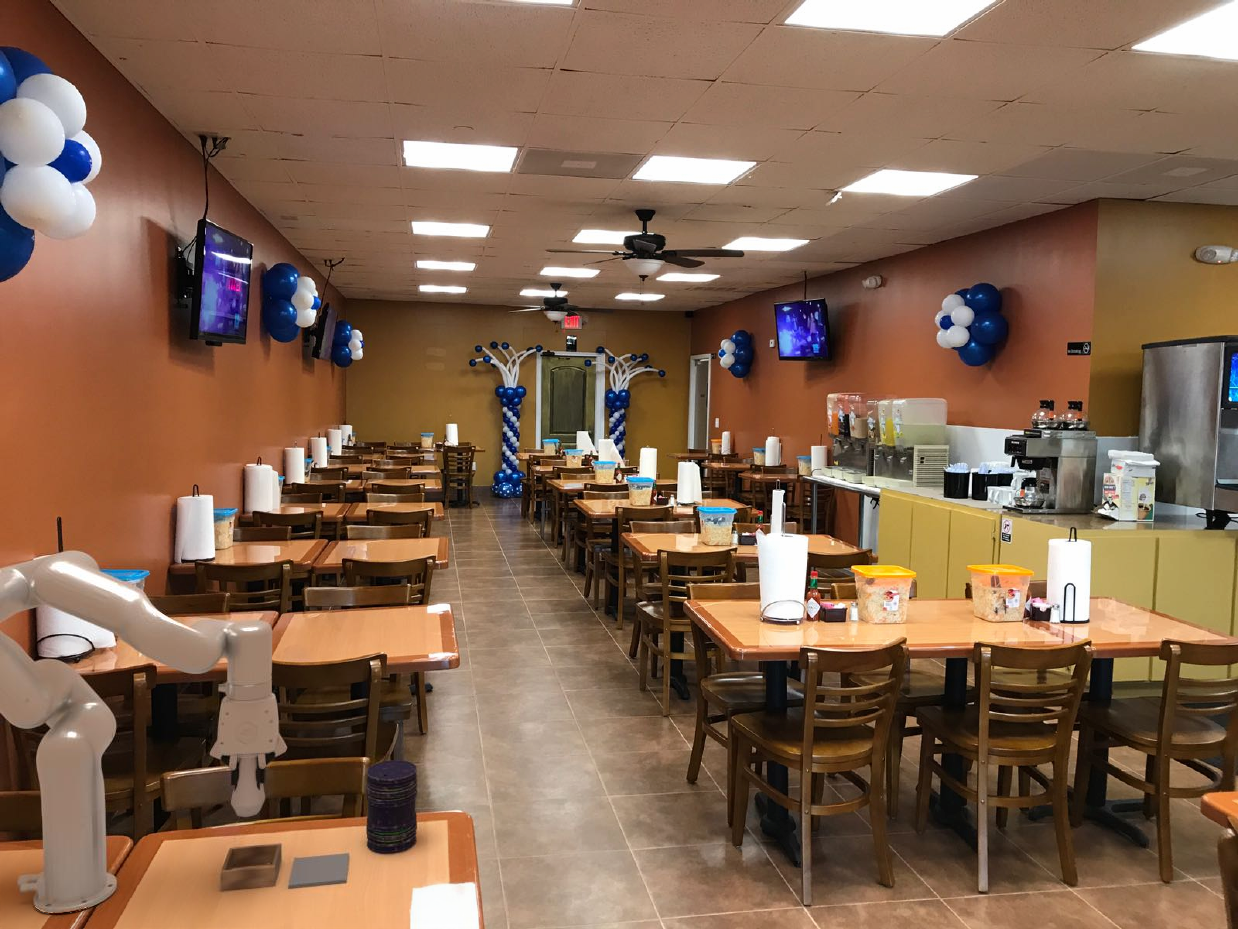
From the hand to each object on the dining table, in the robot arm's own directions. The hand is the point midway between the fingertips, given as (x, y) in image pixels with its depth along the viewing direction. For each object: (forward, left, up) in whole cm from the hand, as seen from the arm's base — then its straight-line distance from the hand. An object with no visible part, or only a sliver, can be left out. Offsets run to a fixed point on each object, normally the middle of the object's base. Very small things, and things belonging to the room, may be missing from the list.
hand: (248, 787), depth 168 cm
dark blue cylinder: (+25, +8, -17) cm, 32 cm away
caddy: (0, 0, -17) cm, 17 cm away
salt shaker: (0, 0, -5) cm, 5 cm away
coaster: (+12, -1, -17) cm, 21 cm away
